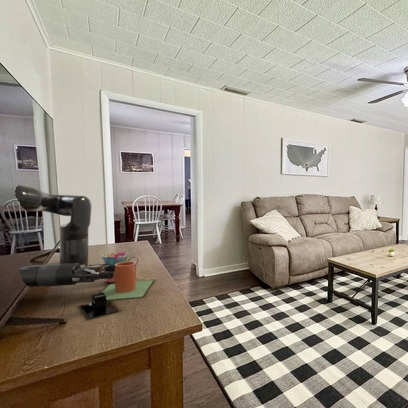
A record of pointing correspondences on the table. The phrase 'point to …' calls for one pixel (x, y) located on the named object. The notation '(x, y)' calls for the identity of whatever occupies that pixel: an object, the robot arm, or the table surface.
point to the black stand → (98, 306)
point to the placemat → (138, 292)
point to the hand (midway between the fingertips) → (117, 271)
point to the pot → (125, 277)
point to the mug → (115, 261)
